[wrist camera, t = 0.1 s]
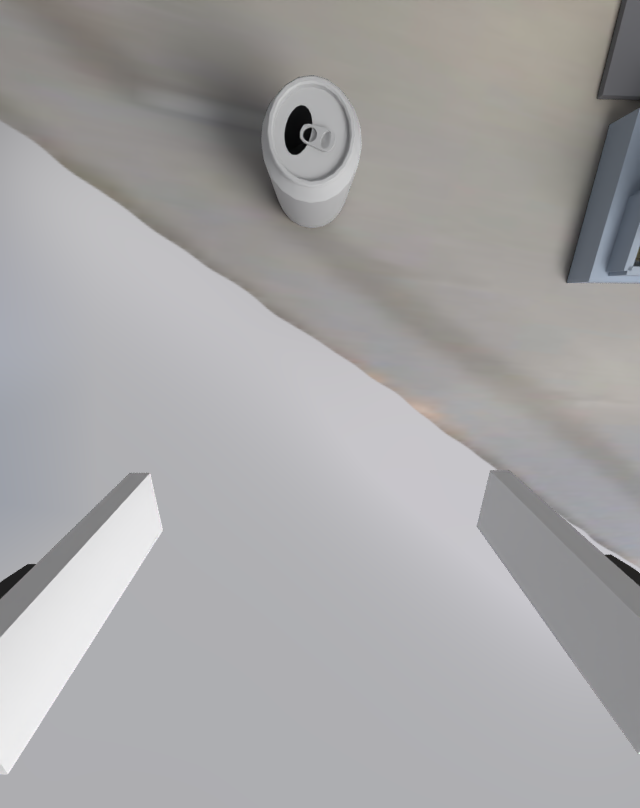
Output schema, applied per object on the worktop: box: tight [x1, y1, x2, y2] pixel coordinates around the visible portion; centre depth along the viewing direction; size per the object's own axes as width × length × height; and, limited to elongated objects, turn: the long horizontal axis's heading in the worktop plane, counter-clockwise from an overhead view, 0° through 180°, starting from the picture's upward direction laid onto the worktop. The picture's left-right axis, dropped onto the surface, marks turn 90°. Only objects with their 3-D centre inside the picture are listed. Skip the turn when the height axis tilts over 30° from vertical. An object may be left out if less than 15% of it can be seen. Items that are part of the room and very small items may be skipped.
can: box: [261, 75, 362, 228], centre depth 26 cm, size 8×8×12 cm
